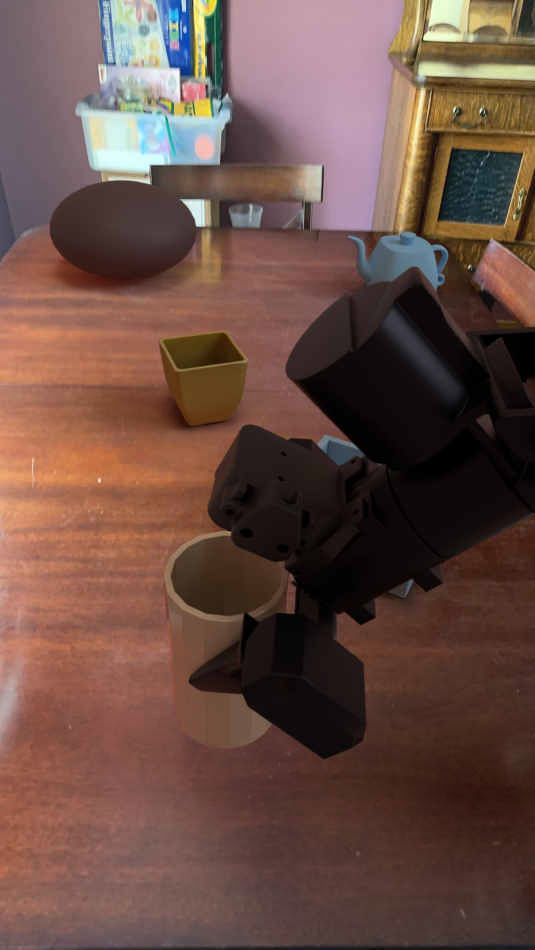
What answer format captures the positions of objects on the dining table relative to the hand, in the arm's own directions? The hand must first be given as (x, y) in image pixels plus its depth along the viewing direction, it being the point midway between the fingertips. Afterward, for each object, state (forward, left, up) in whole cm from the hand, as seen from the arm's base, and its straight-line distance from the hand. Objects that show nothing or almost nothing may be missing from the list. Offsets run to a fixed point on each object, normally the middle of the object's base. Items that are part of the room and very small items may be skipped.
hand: (203, 633), depth 41 cm
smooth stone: (+62, -72, -14) cm, 95 cm away
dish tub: (0, -29, -13) cm, 32 cm away
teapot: (+18, -89, -14) cm, 91 cm away
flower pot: (+25, -39, -14) cm, 48 cm away
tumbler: (-1, -1, -7) cm, 7 cm away
